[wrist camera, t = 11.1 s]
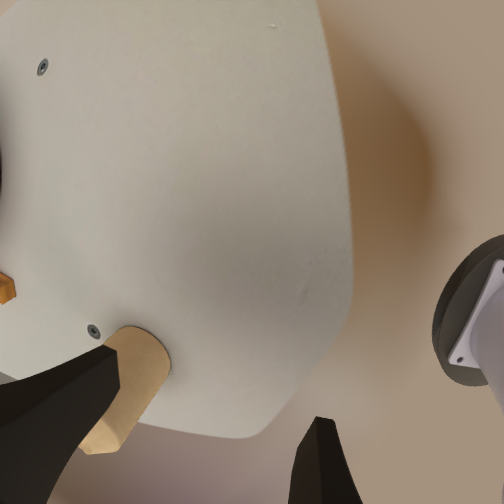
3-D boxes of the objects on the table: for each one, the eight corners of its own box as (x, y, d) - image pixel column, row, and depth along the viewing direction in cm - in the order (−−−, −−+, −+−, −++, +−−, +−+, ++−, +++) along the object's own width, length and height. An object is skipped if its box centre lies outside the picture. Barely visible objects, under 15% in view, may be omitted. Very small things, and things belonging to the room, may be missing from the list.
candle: (104, 344, 24) (33, 416, 14) (132, 312, 22) (46, 395, 12) (150, 388, 24) (93, 470, 15) (184, 363, 22) (121, 462, 13)
